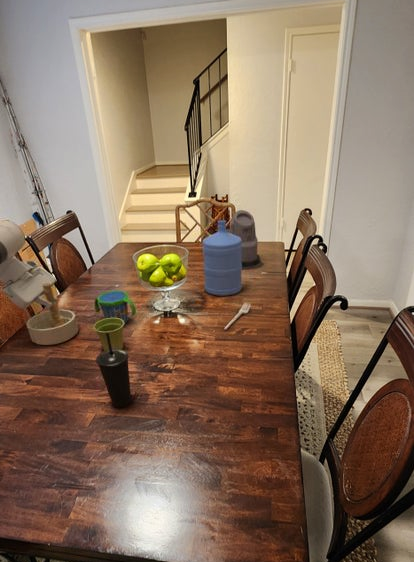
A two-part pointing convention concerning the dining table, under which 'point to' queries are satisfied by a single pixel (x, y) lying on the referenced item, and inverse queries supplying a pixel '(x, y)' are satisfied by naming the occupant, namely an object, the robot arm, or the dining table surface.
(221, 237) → the water jug
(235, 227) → the machine
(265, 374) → the dining table surface
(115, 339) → the plant pot
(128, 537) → the dining table surface
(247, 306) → the fork
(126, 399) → the drinking cup
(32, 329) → the bowl
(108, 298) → the snack cup
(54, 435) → the dining table surface
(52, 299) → the wooden pestle
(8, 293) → the robot arm
